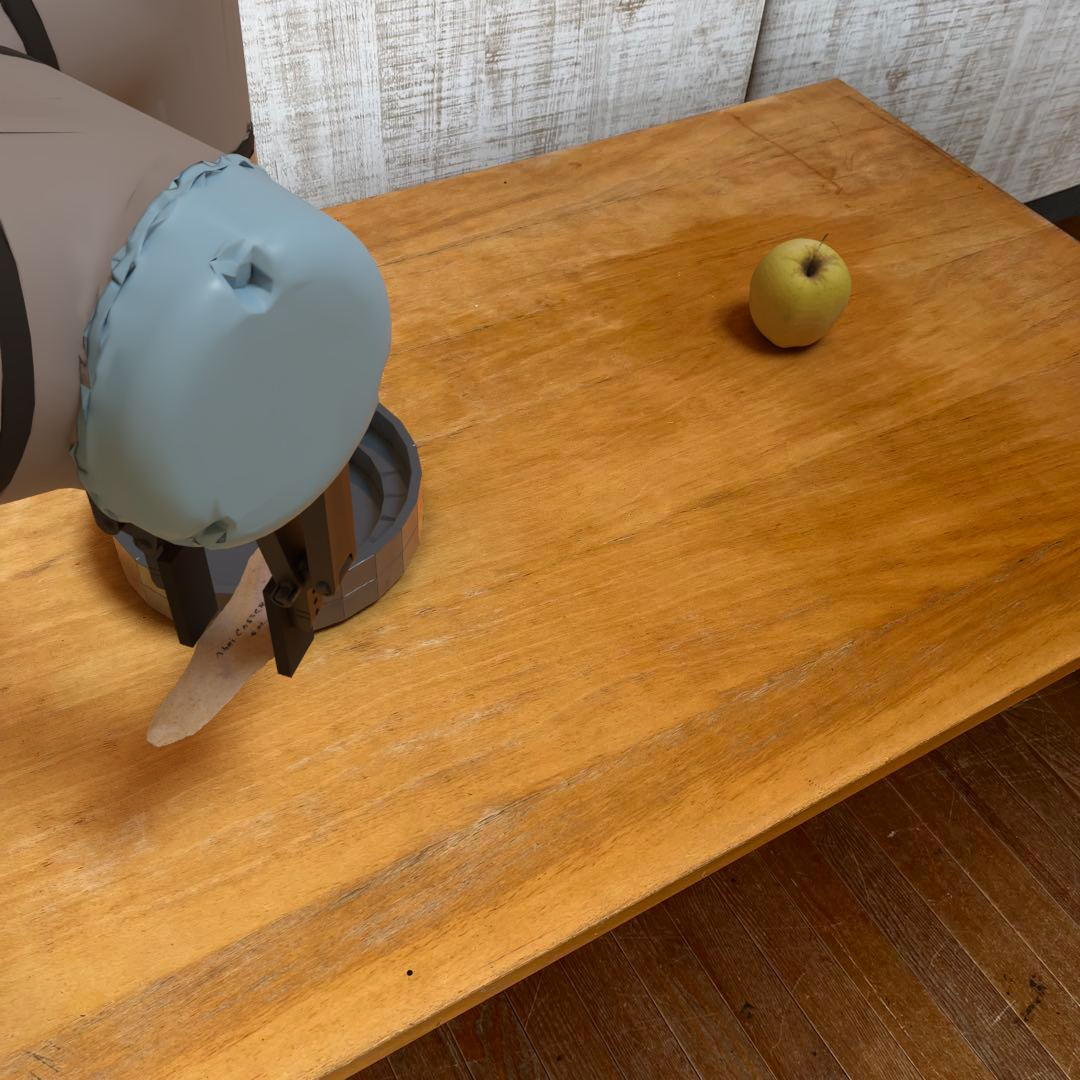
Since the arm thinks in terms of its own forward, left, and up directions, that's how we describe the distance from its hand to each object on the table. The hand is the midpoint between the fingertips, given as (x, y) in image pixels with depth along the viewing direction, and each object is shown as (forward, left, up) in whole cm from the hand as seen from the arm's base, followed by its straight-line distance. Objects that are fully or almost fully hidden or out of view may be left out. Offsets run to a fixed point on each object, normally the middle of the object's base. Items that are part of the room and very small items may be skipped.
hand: (247, 640), depth 60 cm
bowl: (+17, +8, -11) cm, 22 cm away
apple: (+52, -22, -11) cm, 57 cm away
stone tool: (0, 0, -1) cm, 1 cm away
